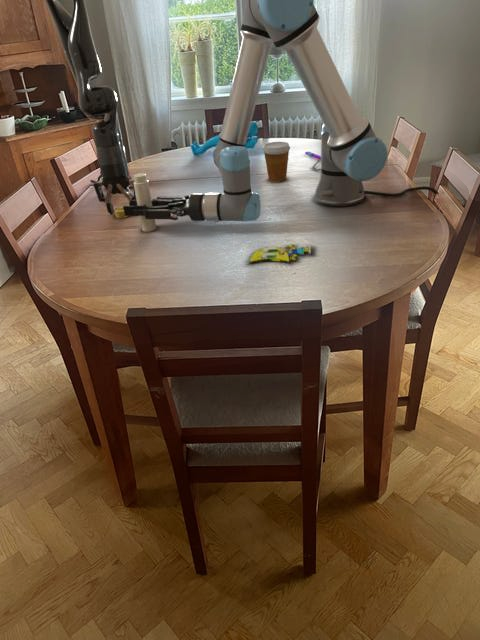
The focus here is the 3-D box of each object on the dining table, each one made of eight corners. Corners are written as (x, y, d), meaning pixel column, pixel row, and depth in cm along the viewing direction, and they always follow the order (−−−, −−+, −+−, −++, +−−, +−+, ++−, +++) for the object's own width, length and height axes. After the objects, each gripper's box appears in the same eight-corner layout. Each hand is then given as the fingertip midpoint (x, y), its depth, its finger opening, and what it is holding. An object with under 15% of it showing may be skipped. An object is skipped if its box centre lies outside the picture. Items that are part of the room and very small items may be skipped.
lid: (121, 212, 156) (120, 205, 155) (133, 213, 154) (132, 206, 153) (112, 217, 153) (110, 211, 151) (125, 218, 151) (123, 212, 150)
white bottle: (151, 232, 139) (141, 177, 131) (139, 230, 141) (128, 176, 132) (159, 227, 143) (149, 173, 134) (147, 225, 144) (137, 172, 135)
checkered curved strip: (342, 175, 173) (362, 153, 185) (341, 169, 172) (361, 148, 184) (283, 174, 186) (305, 153, 198) (282, 169, 184) (305, 148, 196)
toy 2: (311, 260, 114) (248, 260, 116) (311, 263, 115) (248, 263, 117) (311, 242, 123) (252, 243, 125) (311, 245, 123) (253, 246, 125)
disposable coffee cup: (260, 182, 170) (258, 147, 164) (269, 174, 177) (267, 141, 171) (286, 183, 167) (285, 148, 160) (294, 175, 174) (293, 141, 168)
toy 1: (196, 135, 216) (258, 115, 205) (204, 158, 221) (266, 140, 210) (185, 145, 202) (251, 124, 192) (194, 169, 207) (259, 150, 197)
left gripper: (83, 165, 142) (97, 218, 151) (131, 162, 140) (141, 216, 149) (92, 158, 148) (104, 210, 157) (137, 155, 147) (147, 208, 156)
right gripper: (198, 232, 129) (118, 231, 134) (214, 209, 144) (141, 209, 148) (194, 205, 125) (112, 205, 130) (211, 184, 140) (136, 185, 144)
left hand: (122, 213), depth 153 cm, fingers open, 6 cm apart
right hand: (128, 207), depth 139 cm, fingers closed on white bottle, 4 cm apart
